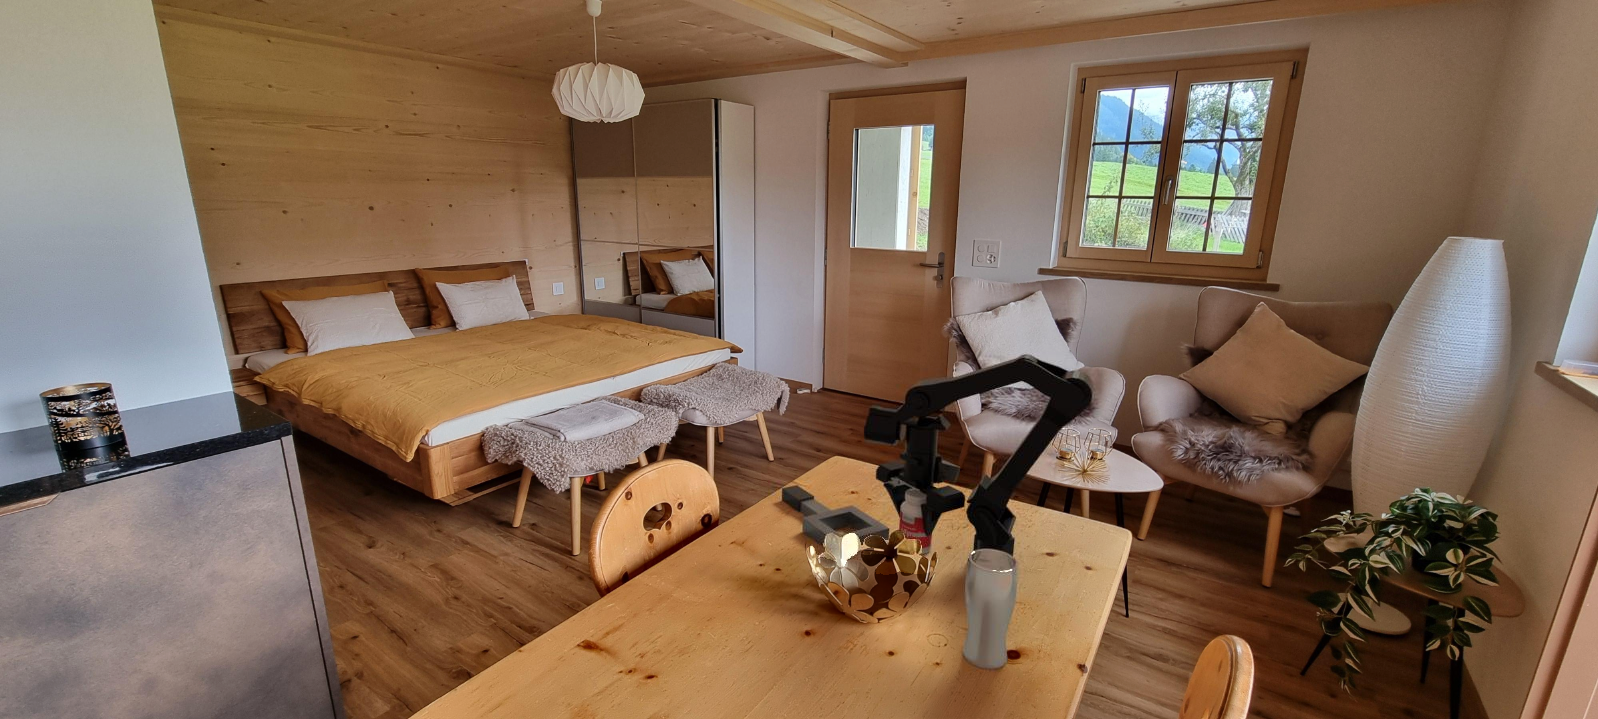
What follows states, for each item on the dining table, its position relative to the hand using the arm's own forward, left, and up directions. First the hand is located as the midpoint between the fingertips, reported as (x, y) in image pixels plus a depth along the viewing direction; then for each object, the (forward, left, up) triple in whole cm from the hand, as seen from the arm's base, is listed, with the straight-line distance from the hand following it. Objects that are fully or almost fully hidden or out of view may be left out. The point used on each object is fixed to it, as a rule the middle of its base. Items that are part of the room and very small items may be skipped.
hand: (915, 528), depth 129 cm
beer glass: (-30, +13, -4) cm, 33 cm away
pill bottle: (0, 0, -4) cm, 4 cm away
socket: (+18, +9, -4) cm, 20 cm away
